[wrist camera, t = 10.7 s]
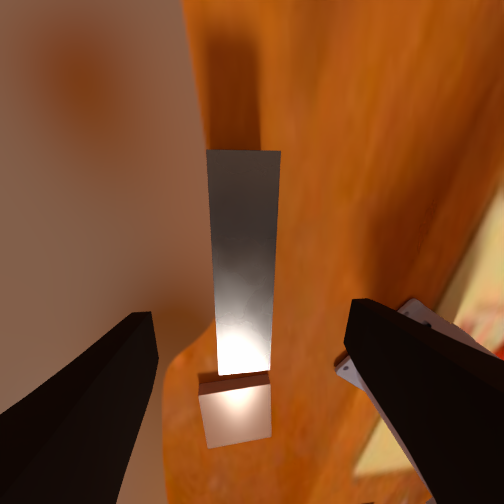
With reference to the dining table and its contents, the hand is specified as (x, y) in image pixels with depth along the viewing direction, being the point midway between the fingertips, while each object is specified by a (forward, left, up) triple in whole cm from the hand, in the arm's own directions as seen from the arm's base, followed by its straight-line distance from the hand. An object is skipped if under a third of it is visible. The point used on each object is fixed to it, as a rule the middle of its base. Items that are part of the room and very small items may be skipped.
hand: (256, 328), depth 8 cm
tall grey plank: (0, 0, -8) cm, 8 cm away
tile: (+10, +7, -8) cm, 14 cm away
